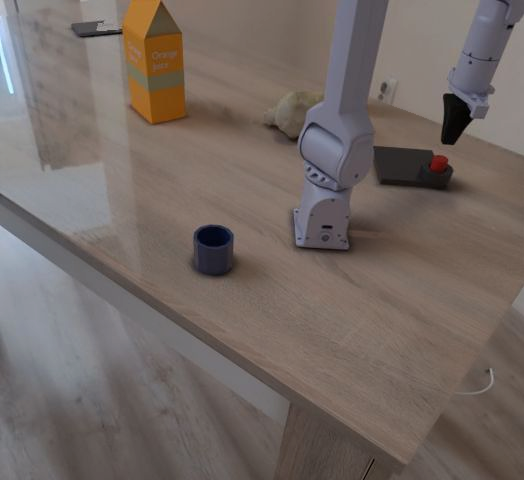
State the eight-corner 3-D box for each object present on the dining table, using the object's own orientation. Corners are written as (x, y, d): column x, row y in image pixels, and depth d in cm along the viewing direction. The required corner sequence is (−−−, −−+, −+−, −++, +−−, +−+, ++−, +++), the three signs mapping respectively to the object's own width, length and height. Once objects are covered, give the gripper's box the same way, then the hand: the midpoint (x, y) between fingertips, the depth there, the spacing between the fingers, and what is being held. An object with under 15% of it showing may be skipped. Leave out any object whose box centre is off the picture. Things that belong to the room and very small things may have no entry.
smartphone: (69, 23, 122) (126, 17, 127) (70, 27, 123) (127, 22, 128) (78, 33, 118) (136, 27, 123) (79, 37, 119) (137, 31, 124)
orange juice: (151, 124, 93) (139, 1, 77) (131, 106, 97) (115, -15, 82) (186, 116, 96) (181, -4, 81) (165, 99, 100) (156, -18, 85)
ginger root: (257, 151, 93) (319, 119, 83) (248, 112, 92) (309, 75, 82) (303, 151, 104) (362, 123, 94) (294, 116, 103) (354, 85, 93)
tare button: (445, 173, 84) (450, 162, 82) (431, 172, 84) (435, 161, 82) (442, 166, 86) (446, 155, 84) (428, 164, 86) (432, 154, 84)
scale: (450, 192, 85) (456, 176, 83) (380, 187, 84) (385, 171, 82) (433, 156, 93) (439, 141, 91) (369, 151, 93) (373, 136, 90)
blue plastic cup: (232, 276, 66) (233, 250, 63) (192, 273, 66) (191, 247, 62) (233, 251, 70) (234, 225, 66) (196, 249, 69) (195, 223, 66)
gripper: (524, 75, 66) (482, 166, 77) (492, 39, 76) (458, 125, 86) (475, 71, 66) (440, 163, 76) (449, 35, 75) (420, 122, 86)
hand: (447, 142), depth 81 cm, fingers closed
